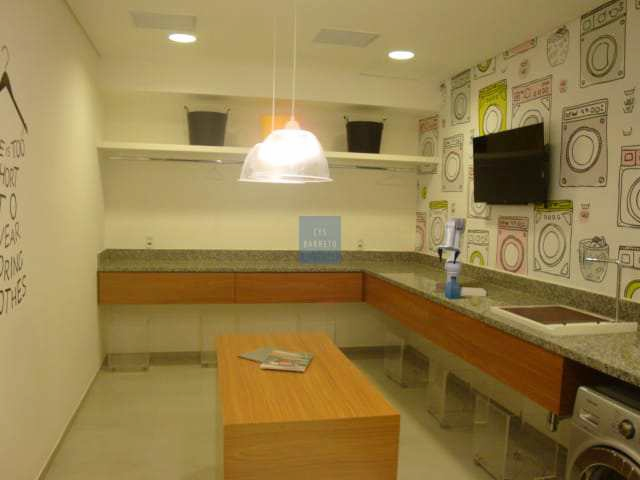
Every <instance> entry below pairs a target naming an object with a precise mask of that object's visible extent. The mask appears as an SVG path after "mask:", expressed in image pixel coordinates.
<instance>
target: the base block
mask: <svg viewBox="0 0 640 480" xmlns="http://www.w3.org/2000/svg"><path fill="white" fill-rule="evenodd" d="M461 293H462V294H463V295H464V296H475V297H477V296H478V297H487V291H486V290H485V289H484V288H483V287H465V286H462V287H461Z"/></svg>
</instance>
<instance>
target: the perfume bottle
mask: <svg viewBox="0 0 640 480" xmlns="http://www.w3.org/2000/svg"><path fill="white" fill-rule="evenodd" d="M450 281H451V282H448V283H447V282H446V284H445V285H446V286H445V293H444V298H446V299H448V300H461V298H462V297H461V295H462V287H461V285H460V283H456V281H457V279H456V276H451V279H450Z"/></svg>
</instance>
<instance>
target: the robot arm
mask: <svg viewBox="0 0 640 480" xmlns="http://www.w3.org/2000/svg"><path fill="white" fill-rule="evenodd" d="M444 224H445V231H444V232H445V236H444V244H443V245H436V246H435V250H437V254H438V257H439V263H442V260H443V251H447V252H448V251H449V252H451V253H450V257H449V258H447V259H446V260H445V264H444V272H446V284H445V286H446V285H447V283H448V282H451V281H450V279H451V276H456V279H457V281H456V283H459V281H460V274H461V273H462V271H463V262H462V260H461V258H459V255H460V254H461V253H463V248H460V244H461V239H462V238H461V237H462V235H463V234H464V233H465V231H466V225H467V219H466V218H462V217H459V218H458V217H449V220H447V221H445V223H444ZM459 284H460V283H459Z"/></svg>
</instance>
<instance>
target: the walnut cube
mask: <svg viewBox="0 0 640 480" xmlns="http://www.w3.org/2000/svg"><path fill="white" fill-rule="evenodd" d="M445 285H446V283H445V282H436V283H435V292H436V293H437V294H439V293H440V294H445Z"/></svg>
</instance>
